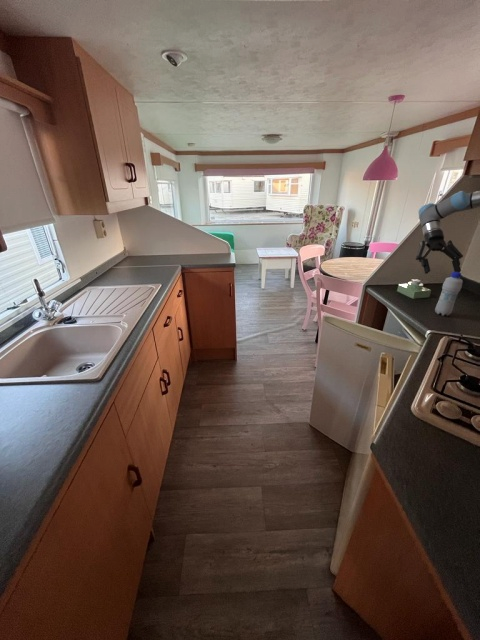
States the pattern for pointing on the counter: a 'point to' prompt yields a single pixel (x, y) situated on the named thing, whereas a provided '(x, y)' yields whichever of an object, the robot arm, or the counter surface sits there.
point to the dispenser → (414, 290)
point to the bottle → (449, 294)
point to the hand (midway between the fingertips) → (442, 272)
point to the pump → (416, 282)
